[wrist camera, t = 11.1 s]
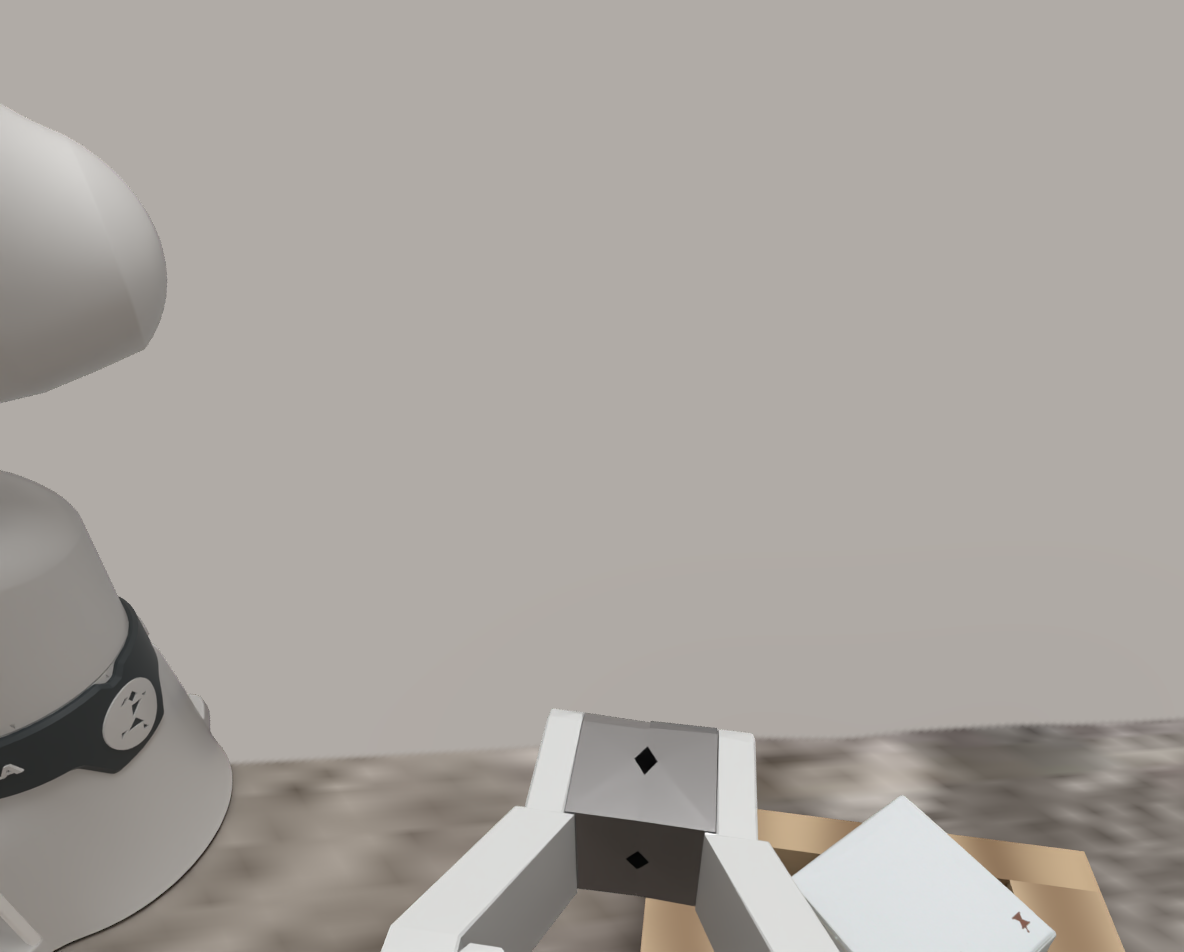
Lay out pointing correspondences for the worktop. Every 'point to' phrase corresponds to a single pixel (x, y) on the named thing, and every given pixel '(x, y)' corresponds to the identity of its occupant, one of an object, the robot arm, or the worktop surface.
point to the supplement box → (914, 892)
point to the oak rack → (1030, 872)
